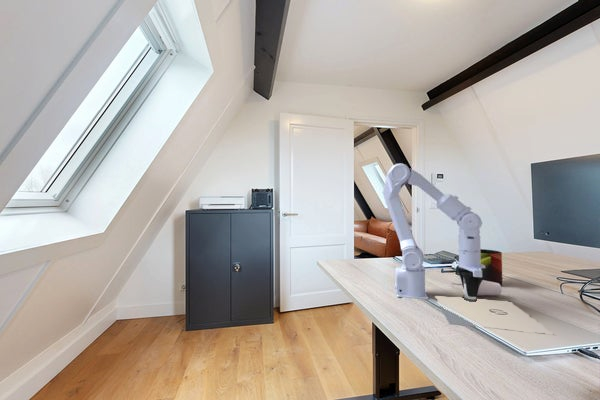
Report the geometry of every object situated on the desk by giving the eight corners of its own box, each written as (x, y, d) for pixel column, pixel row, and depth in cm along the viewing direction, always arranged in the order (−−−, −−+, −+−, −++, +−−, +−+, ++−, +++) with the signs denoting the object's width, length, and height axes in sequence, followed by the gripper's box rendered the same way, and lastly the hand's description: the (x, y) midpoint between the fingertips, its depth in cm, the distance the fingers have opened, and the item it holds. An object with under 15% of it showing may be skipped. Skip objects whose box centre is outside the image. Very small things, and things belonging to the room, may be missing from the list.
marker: (465, 302, 81) (465, 276, 81) (462, 298, 84) (461, 273, 84) (478, 303, 80) (478, 277, 80) (474, 299, 83) (474, 274, 83)
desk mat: (449, 325, 67) (449, 324, 67) (432, 295, 88) (432, 294, 88) (556, 336, 61) (556, 335, 61) (510, 301, 82) (510, 300, 82)
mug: (492, 277, 107) (492, 247, 107) (507, 288, 94) (506, 254, 94) (465, 275, 110) (464, 247, 110) (475, 285, 97) (475, 253, 97)
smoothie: (506, 289, 82) (457, 284, 84) (499, 303, 85) (452, 299, 87) (496, 274, 87) (450, 270, 90) (490, 288, 90) (446, 284, 93)
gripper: (494, 255, 74) (495, 304, 74) (475, 246, 88) (476, 287, 88) (465, 254, 76) (466, 301, 76) (452, 246, 90) (452, 286, 90)
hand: (470, 294), depth 82 cm, fingers closed on marker, 3 cm apart
